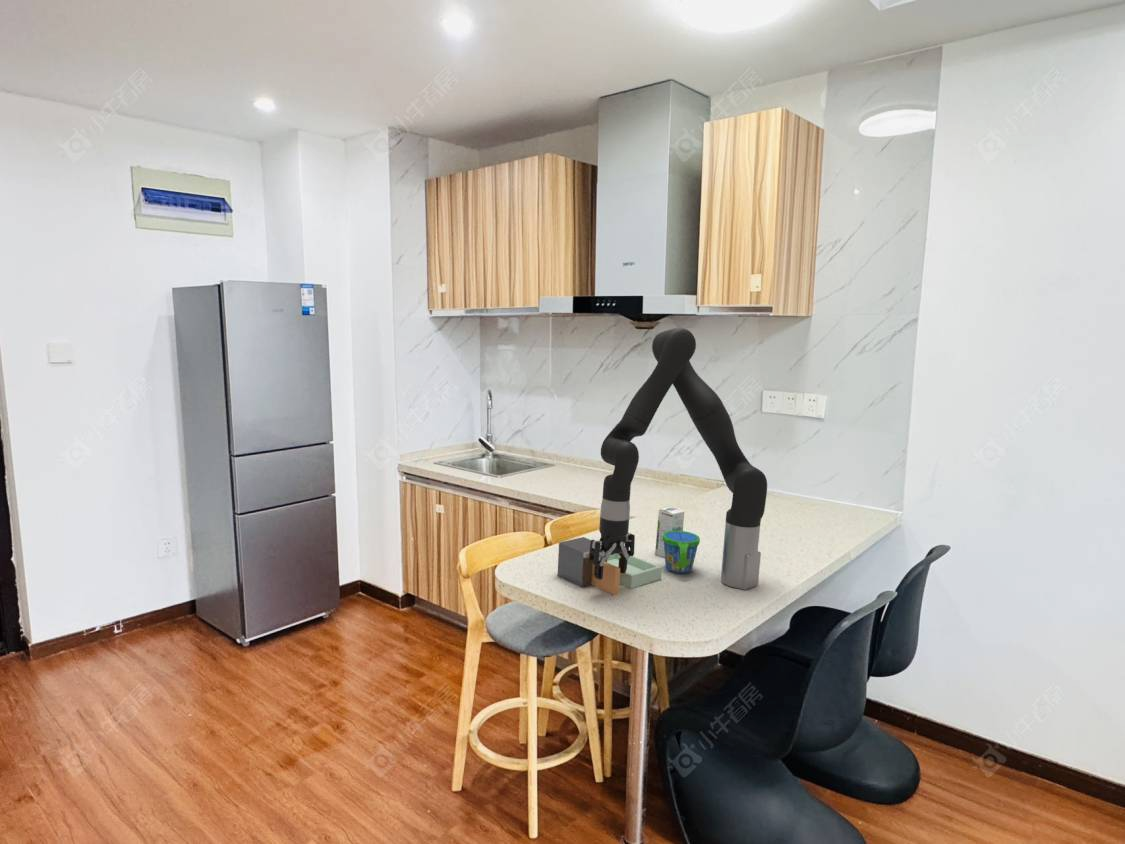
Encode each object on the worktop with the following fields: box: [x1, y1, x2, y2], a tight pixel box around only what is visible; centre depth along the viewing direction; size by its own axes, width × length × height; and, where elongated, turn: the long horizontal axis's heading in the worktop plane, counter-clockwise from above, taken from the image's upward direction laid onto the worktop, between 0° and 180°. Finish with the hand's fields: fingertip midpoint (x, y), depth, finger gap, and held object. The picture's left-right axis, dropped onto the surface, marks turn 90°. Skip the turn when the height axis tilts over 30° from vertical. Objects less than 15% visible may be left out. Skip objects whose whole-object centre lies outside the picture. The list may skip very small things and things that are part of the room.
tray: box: [607, 553, 663, 589], centre depth 188 cm, size 18×12×4 cm, turn 40°
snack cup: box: [663, 530, 701, 574], centre depth 193 cm, size 16×10×10 cm
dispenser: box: [557, 536, 607, 588], centre depth 183 cm, size 11×9×10 cm
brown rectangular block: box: [590, 557, 620, 596], centre depth 177 cm, size 10×2×7 cm, turn 41°
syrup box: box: [654, 506, 685, 558], centre depth 204 cm, size 6×6×14 cm
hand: (610, 575), depth 175 cm, fingers open, 8 cm apart
